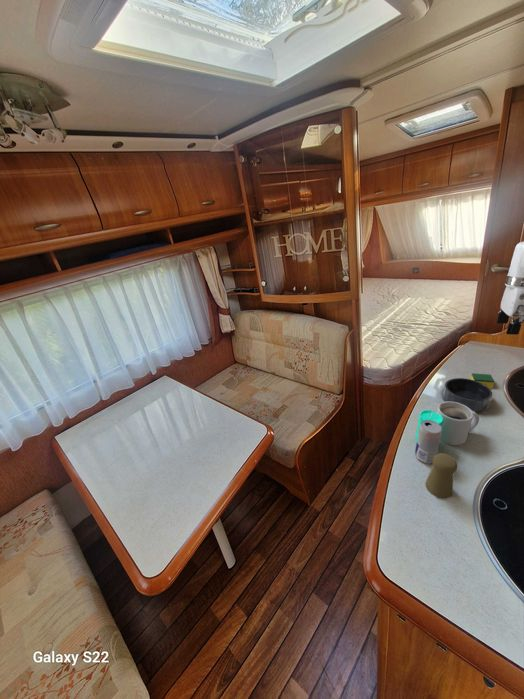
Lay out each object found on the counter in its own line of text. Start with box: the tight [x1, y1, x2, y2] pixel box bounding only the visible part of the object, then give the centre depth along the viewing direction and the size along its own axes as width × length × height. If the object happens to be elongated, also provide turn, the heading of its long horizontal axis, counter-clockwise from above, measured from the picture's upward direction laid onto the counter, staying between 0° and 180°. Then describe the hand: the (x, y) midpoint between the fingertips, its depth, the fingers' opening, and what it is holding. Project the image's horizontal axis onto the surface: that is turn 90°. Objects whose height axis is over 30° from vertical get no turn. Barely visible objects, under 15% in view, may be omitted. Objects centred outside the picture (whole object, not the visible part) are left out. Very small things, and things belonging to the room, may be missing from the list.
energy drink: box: [414, 420, 442, 464], centre depth 78 cm, size 5×5×12 cm
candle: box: [415, 409, 443, 444], centre depth 82 cm, size 6×6×12 cm
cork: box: [425, 452, 459, 499], centre depth 69 cm, size 6×6×11 cm
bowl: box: [442, 377, 493, 414], centre depth 97 cm, size 14×14×6 cm
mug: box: [436, 401, 480, 446], centre depth 84 cm, size 11×10×10 cm
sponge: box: [470, 372, 495, 390], centre depth 105 cm, size 6×4×4 cm
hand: (506, 328), depth 97 cm, fingers open, 9 cm apart
